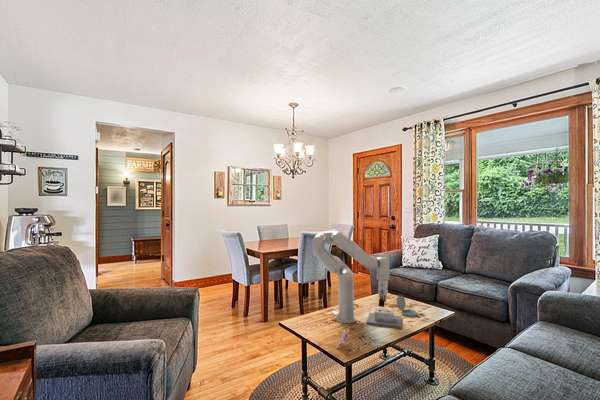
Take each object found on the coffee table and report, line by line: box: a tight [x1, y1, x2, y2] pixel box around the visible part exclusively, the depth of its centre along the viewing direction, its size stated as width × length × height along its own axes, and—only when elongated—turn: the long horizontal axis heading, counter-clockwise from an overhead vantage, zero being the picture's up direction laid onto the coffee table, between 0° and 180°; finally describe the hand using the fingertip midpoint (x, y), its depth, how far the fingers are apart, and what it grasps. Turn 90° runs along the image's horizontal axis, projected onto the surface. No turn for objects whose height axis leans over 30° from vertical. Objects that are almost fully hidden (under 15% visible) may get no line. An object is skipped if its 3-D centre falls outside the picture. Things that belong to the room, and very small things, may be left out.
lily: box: [335, 328, 353, 349], centre depth 151 cm, size 12×12×10 cm
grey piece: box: [365, 311, 402, 330], centre depth 182 cm, size 20×16×6 cm
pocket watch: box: [395, 295, 421, 318], centre depth 194 cm, size 10×11×15 cm
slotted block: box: [373, 307, 395, 322], centre depth 182 cm, size 11×7×5 cm, turn 69°
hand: (382, 303), depth 183 cm, fingers open, 9 cm apart
